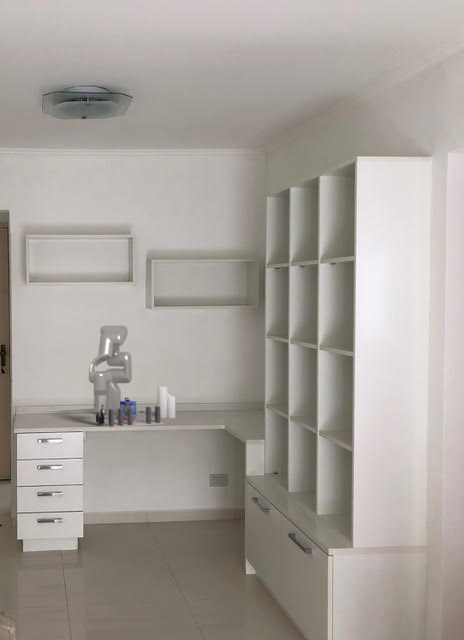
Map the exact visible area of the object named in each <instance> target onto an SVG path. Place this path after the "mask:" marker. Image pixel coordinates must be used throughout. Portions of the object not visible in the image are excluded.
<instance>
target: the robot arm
mask: <svg viewBox="0 0 464 640" xmlns="http://www.w3.org/2000/svg"><path fill="white" fill-rule="evenodd" d="M128 331H129V330H128V327H126V326H125V325H103V326H101V327H100V338H99V346H98V347H99V348H98V355H97V356H96V357H95V358H94V359H93V360H92V361H91V363H90V365H89V369H88V381H89V382H90V383H91V384H93V411H94V412H95V422H96V423H98V412H99V415H100V417H99V423H100V424H102V423H103V424H105V419H109V409H113V410H114V419H118V408H120V401H122V393H121V391H122V390H121V388H120V386H119V385H118V384H130V383H131V381H132V375H133V374H132V372H133V371H132V367H133V366H132V365H133V364H132V355H131V353H130V352H128V351H120V348H121V347H120V346H123V345H124V343H125V341H126V340H127V337H128V334H129V332H128ZM104 362H106V364H107V366H109V367H113V368H108V369H105V370H103V371H101V370H96V368H97V367H98V366H99V365H100V364H103V363H104ZM114 367H116V368H114ZM117 367H123V368H117ZM100 411H102V412H100Z"/></svg>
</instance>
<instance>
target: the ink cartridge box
mask: <svg viewBox="0 0 464 640" xmlns="http://www.w3.org/2000/svg"><path fill="white" fill-rule="evenodd" d="M120 408H121V409H123V421H127V408H132V409H133V422H134V421H137V419H138V418H137V401H136V400H135V401H134V400H130V398H129V397H124V400H121V401H120Z"/></svg>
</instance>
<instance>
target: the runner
mask: <svg viewBox="0 0 464 640" xmlns="http://www.w3.org/2000/svg"><path fill="white" fill-rule="evenodd" d="M152 425H153V426H154V425H155V426H156V425H165V423H164V422H161V421H160V423H156V422H155V420H154V421H151V424H147V423H146V421H143V422H142V421H141V422H140V421H139V422H133V425H128V424H127V422H126V423H125V422H124V423H123V426H120V425H118V423H114V426H113V427H111V426H109V424H104V426H106V427H108V428H121V427H122V428H124V427H125V428H126V427H136V426H137V427H140V426H152Z"/></svg>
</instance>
